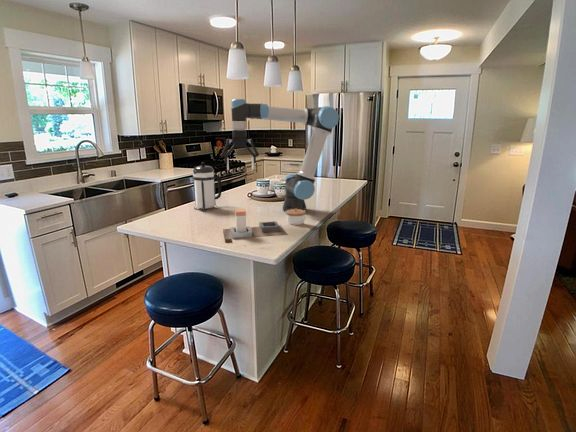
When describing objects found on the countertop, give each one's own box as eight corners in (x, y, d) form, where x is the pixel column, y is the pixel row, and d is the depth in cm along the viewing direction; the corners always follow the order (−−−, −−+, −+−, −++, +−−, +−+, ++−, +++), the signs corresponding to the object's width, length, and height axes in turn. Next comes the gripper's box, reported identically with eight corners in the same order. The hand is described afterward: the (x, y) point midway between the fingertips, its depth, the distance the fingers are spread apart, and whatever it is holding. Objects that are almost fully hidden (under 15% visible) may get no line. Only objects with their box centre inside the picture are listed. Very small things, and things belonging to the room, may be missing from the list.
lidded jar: (293, 229, 175) (293, 212, 173) (281, 224, 184) (281, 207, 181) (309, 226, 181) (309, 209, 179) (297, 221, 190) (297, 205, 187)
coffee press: (216, 211, 209) (213, 163, 201) (190, 211, 209) (187, 163, 201) (222, 205, 226) (220, 160, 218) (198, 205, 226) (195, 160, 218)
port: (249, 231, 167) (249, 226, 167) (252, 237, 158) (252, 232, 158) (230, 232, 165) (230, 227, 164) (232, 238, 156) (231, 233, 156)
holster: (276, 225, 176) (276, 221, 175) (279, 230, 168) (279, 226, 167) (259, 227, 174) (259, 222, 173) (262, 232, 166) (262, 227, 165)
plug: (245, 232, 164) (244, 209, 161) (246, 235, 160) (245, 211, 157) (236, 233, 163) (235, 209, 160) (236, 236, 159) (236, 212, 156)
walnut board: (280, 227, 178) (280, 225, 177) (288, 237, 163) (288, 234, 162) (223, 231, 171) (223, 229, 170) (225, 242, 156) (225, 239, 155)
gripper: (261, 129, 185) (261, 168, 191) (215, 129, 179) (217, 169, 185) (263, 129, 178) (264, 169, 184) (215, 129, 172) (217, 171, 178)
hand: (240, 169), depth 184 cm, fingers open, 13 cm apart
